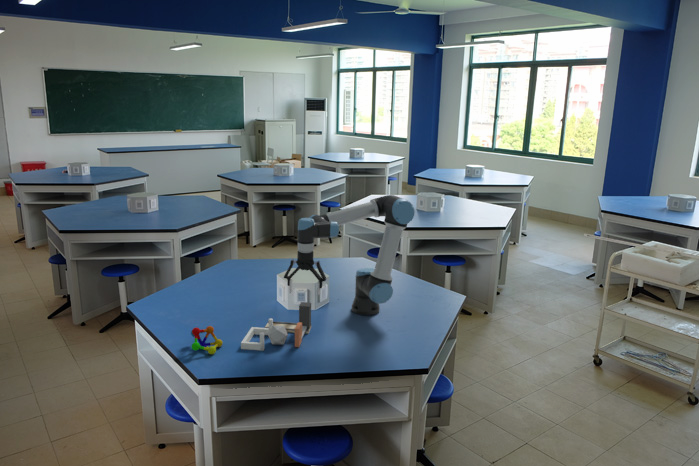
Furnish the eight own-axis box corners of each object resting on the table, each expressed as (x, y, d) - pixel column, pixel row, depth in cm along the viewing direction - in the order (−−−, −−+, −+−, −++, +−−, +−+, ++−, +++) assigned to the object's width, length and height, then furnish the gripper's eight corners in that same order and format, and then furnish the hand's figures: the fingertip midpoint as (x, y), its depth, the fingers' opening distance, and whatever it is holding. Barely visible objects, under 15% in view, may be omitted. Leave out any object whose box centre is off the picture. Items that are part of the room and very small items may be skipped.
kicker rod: (310, 327, 255) (311, 302, 252) (302, 347, 234) (302, 320, 231) (301, 326, 256) (301, 302, 253) (291, 346, 234) (291, 320, 231)
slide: (311, 326, 257) (311, 323, 256) (308, 333, 249) (308, 330, 249) (268, 323, 259) (268, 320, 259) (264, 330, 251) (263, 327, 251)
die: (279, 350, 233) (291, 331, 234) (262, 339, 233) (275, 320, 234) (281, 348, 241) (293, 330, 242) (265, 338, 242) (277, 320, 243)
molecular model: (219, 348, 239) (189, 335, 237) (228, 331, 237) (198, 317, 235) (213, 364, 224) (180, 350, 222) (222, 346, 222) (189, 332, 220)
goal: (273, 334, 248) (273, 318, 246) (263, 350, 231) (263, 334, 229) (252, 332, 249) (251, 317, 247) (240, 349, 232) (240, 332, 230)
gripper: (332, 250, 246) (331, 292, 251) (281, 247, 248) (281, 288, 253) (330, 254, 239) (329, 297, 244) (277, 251, 241) (277, 294, 246)
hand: (304, 293), depth 248 cm, fingers open, 13 cm apart
